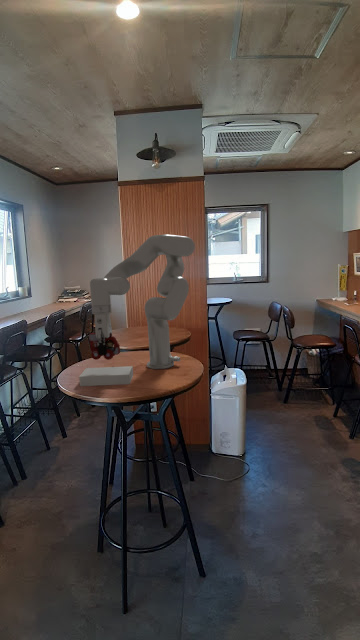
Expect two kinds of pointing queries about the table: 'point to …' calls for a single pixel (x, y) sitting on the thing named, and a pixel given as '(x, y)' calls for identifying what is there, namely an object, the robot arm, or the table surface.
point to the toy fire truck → (110, 348)
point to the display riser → (106, 376)
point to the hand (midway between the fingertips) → (104, 351)
